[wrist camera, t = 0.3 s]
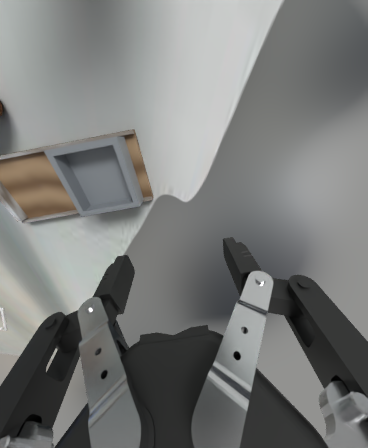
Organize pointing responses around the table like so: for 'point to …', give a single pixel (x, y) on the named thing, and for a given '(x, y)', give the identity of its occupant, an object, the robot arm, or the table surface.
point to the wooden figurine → (1, 109)
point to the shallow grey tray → (97, 175)
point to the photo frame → (3, 319)
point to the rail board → (51, 181)
